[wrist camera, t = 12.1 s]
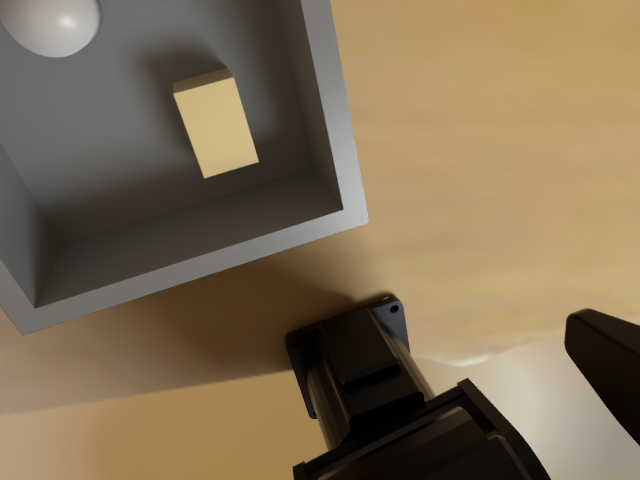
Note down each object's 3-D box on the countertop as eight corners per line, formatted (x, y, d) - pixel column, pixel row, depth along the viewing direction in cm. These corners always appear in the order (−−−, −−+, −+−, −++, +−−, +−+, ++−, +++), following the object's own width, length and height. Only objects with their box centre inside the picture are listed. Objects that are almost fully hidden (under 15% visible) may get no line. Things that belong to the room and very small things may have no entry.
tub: (329, 173, 21) (369, 222, 17) (55, 258, 19) (22, 335, 15) (254, -176, 15) (287, -239, 10) (-158, -89, 13) (-314, -122, 9)
